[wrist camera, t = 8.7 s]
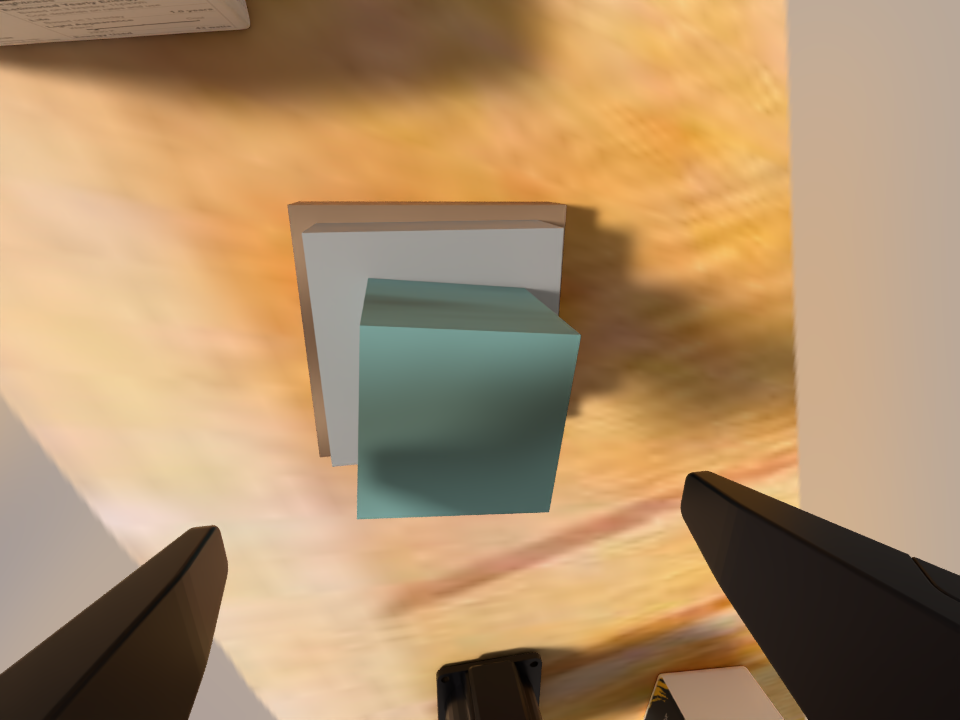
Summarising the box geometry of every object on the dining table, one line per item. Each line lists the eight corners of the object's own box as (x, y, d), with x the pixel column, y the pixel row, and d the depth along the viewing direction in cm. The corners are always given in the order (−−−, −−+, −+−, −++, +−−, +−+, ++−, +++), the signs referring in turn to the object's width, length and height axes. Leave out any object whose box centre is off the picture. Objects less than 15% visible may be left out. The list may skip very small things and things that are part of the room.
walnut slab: (531, 407, 24) (550, 437, 22) (327, 423, 23) (319, 457, 20) (542, 201, 21) (566, 204, 18) (301, 200, 19) (287, 204, 16)
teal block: (506, 423, 17) (548, 512, 13) (365, 422, 16) (357, 519, 12) (524, 287, 16) (581, 335, 11) (368, 278, 15) (359, 325, 10)
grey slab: (528, 409, 21) (550, 445, 18) (339, 425, 20) (332, 466, 17) (536, 219, 18) (563, 227, 15) (315, 223, 17) (301, 233, 14)
